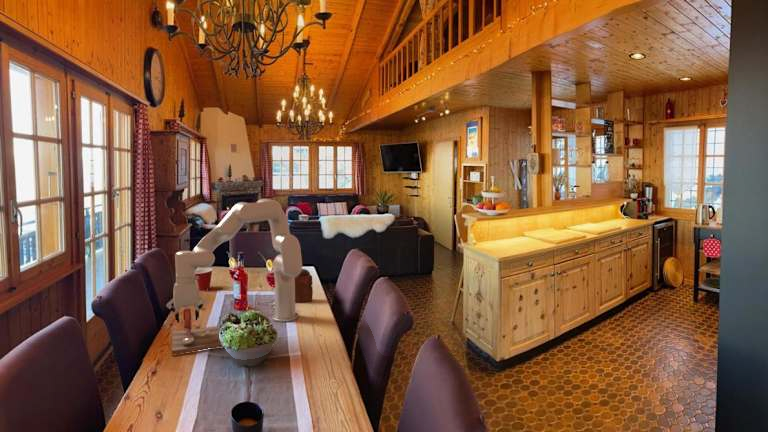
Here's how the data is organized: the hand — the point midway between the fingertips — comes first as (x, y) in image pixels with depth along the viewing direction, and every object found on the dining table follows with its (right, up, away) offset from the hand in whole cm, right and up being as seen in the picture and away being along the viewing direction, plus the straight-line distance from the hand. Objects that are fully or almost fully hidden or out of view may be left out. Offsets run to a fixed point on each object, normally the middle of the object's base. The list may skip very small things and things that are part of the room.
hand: (187, 320), depth 194 cm
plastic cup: (-23, +1, +76) cm, 80 cm away
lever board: (+6, -8, -4) cm, 11 cm away
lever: (+3, -6, -6) cm, 9 cm away
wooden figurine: (+39, -2, +55) cm, 67 cm away
